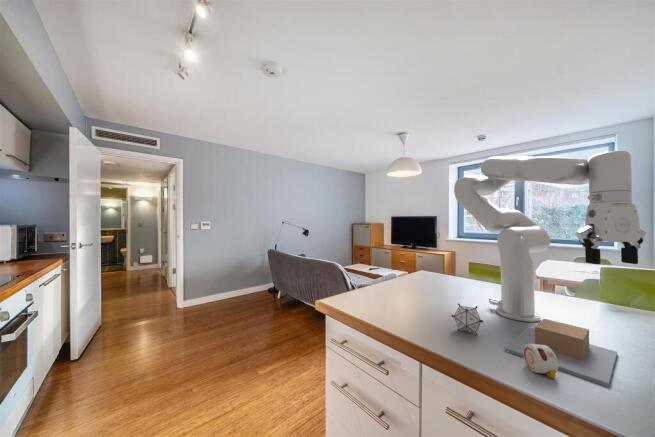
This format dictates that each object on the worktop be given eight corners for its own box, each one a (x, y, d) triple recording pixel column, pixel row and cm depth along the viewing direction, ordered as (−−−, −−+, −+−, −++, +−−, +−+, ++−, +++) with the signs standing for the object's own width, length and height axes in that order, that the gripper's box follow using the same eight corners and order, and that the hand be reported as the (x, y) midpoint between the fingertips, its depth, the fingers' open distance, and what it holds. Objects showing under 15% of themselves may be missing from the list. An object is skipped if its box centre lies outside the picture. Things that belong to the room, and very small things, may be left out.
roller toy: (542, 364, 59) (542, 340, 59) (563, 381, 53) (563, 354, 53) (521, 362, 60) (521, 338, 60) (540, 379, 53) (539, 352, 53)
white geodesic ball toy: (470, 347, 74) (468, 328, 69) (446, 327, 81) (443, 308, 76) (491, 329, 76) (491, 309, 71) (466, 311, 83) (464, 291, 78)
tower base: (504, 350, 65) (504, 328, 65) (528, 330, 77) (527, 311, 77) (608, 387, 51) (608, 358, 51) (617, 354, 63) (616, 331, 63)
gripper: (592, 197, 62) (593, 266, 62) (661, 197, 62) (662, 265, 62) (563, 200, 70) (565, 261, 70) (625, 200, 70) (626, 261, 70)
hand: (611, 263), depth 66 cm, fingers open, 9 cm apart
